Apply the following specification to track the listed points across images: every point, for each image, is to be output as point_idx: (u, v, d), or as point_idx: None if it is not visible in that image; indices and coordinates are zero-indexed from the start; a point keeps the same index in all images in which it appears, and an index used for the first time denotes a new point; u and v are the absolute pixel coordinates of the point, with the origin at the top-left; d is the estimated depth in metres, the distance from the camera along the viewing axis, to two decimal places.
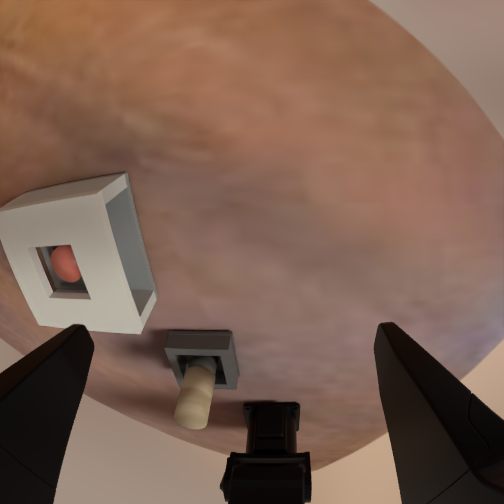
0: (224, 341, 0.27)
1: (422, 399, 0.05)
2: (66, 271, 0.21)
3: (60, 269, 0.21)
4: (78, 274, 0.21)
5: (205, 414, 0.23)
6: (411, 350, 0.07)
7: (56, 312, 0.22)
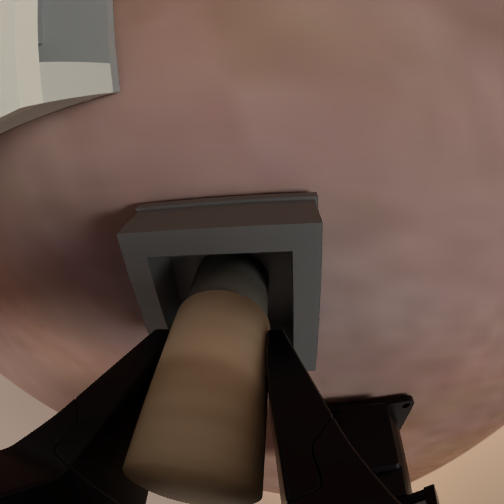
0: (302, 209, 0.09)
1: (272, 414, 0.05)
2: None
3: None
4: None
5: (257, 463, 0.05)
6: (284, 361, 0.07)
7: None
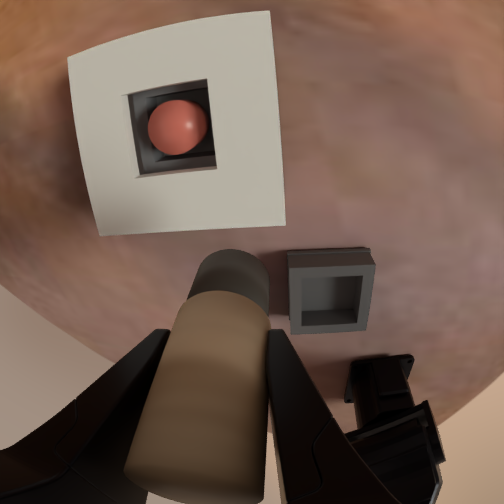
0: (365, 257, 0.21)
1: (272, 414, 0.05)
2: (173, 136, 0.16)
3: (163, 135, 0.16)
4: (194, 139, 0.16)
5: (259, 464, 0.05)
6: (284, 361, 0.07)
7: (140, 205, 0.17)
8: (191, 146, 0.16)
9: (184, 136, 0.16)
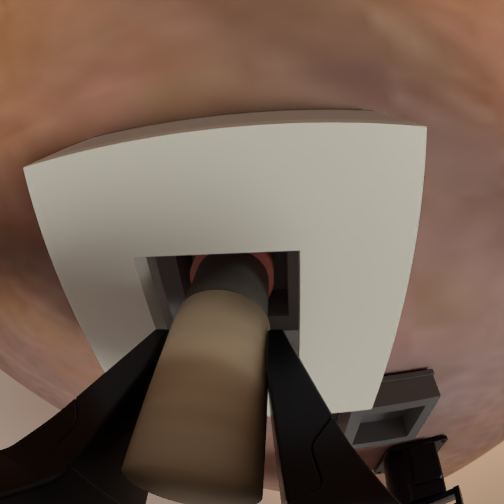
0: (429, 384, 0.16)
1: (272, 414, 0.05)
2: None
3: None
4: None
5: (258, 464, 0.05)
6: (284, 361, 0.07)
7: None
8: None
9: None
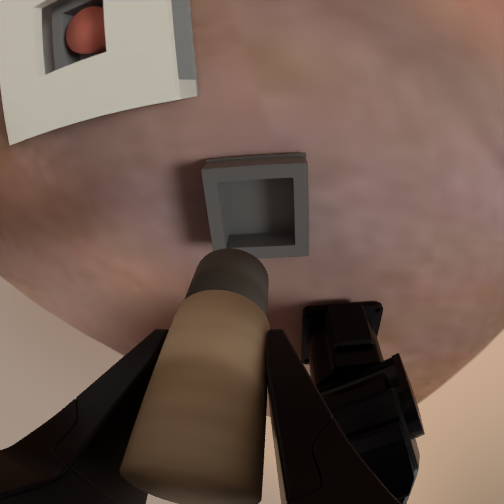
0: (297, 159, 0.17)
1: (272, 414, 0.05)
2: (86, 37, 0.13)
3: (77, 37, 0.13)
4: (103, 35, 0.13)
5: (257, 465, 0.05)
6: (284, 361, 0.07)
7: (41, 103, 0.13)
8: (100, 42, 0.13)
9: (95, 35, 0.13)
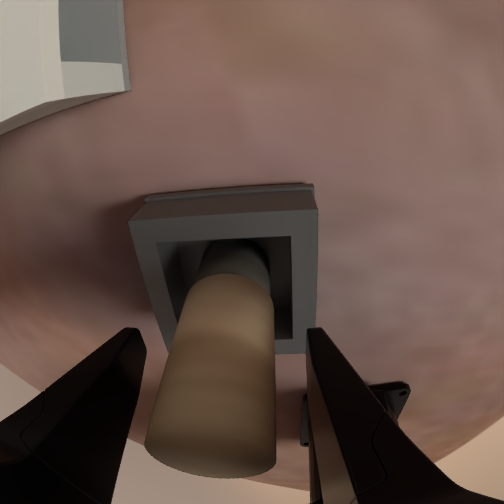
0: (299, 198, 0.10)
1: (326, 412, 0.05)
2: None
3: None
4: None
5: (271, 428, 0.06)
6: (329, 358, 0.07)
7: None
8: None
9: None
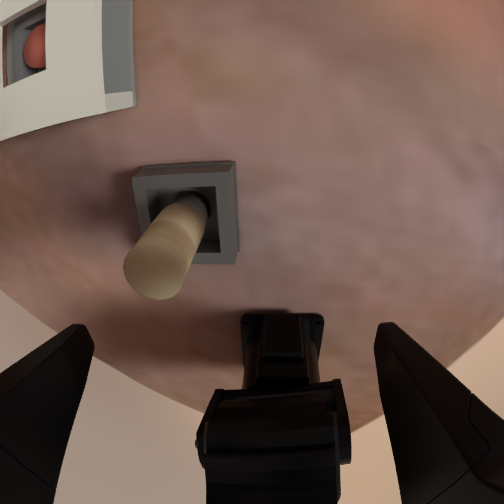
0: (223, 167, 0.18)
1: (422, 399, 0.05)
2: (38, 52, 0.13)
3: (32, 53, 0.13)
4: None
5: (181, 259, 0.14)
6: (411, 350, 0.07)
7: None
8: None
9: (45, 50, 0.13)
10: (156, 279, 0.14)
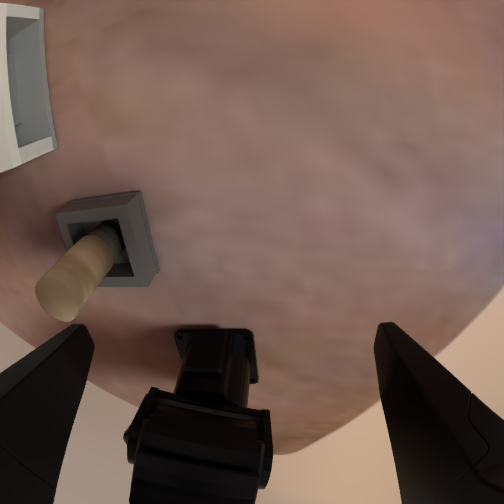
0: (126, 199, 0.18)
1: (422, 399, 0.05)
2: None
3: None
4: None
5: (74, 288, 0.14)
6: (411, 350, 0.07)
7: None
8: None
9: None
10: (58, 305, 0.14)
